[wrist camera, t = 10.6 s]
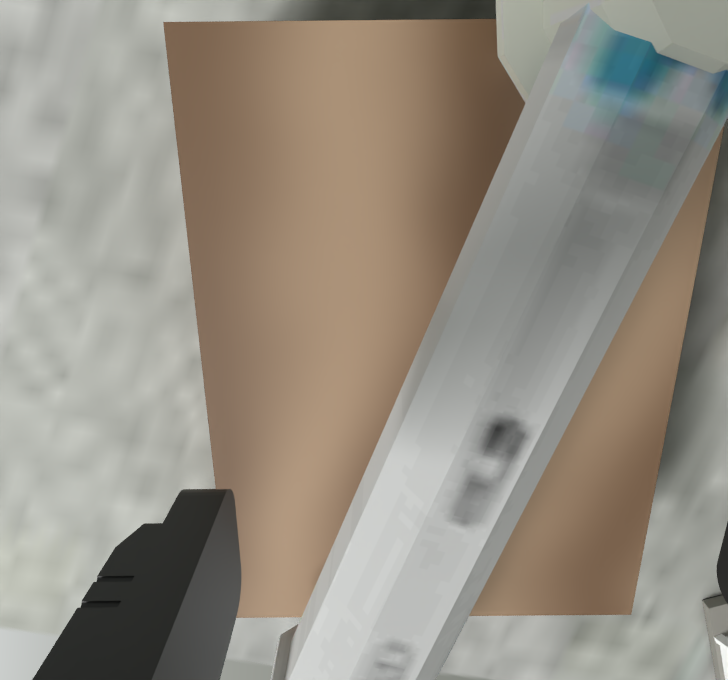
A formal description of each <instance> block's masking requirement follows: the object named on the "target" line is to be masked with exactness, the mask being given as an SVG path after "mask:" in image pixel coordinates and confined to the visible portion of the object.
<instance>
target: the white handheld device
mask: <svg viewBox="0 0 728 680" xmlns="http://www.w3.org/2000/svg"><path fill="white" fill-rule="evenodd" d="M496 24H497V54H498V58H499V60H500V61H501V63H502V65H503V66H504V68H505V70H506V71H507V73H508V75H509V76H510V78H511V80H512V81H513V83H514V85H515V86H516V88H517V90H518V91H519V93H520V95H521V97H522V98H523V100H524V102H525V103H526V104H525V106H524V108H523V110H522V113H521V115H520V117H519V120H518V122H517V124H516V127H515V129H514V131H513V133H512V136H511V138H510V140H509V143H508V145H507V147H506V149H505V152H504V154H503V156H502V159H501V161H500V163H499V166H498V168H497V170H496V172H495V175H494V177H493V179H492V182H491V184H490V186H489V188H488V191H487V193H486V195H485V198H484V200H483V202H482V205H481V207H480V209H479V211H478V214H477V216H476V218H475V221H474V223H473V225H472V227H471V230H470V232H469V234H468V237H467V239H466V241H465V244H464V246H463V248H462V250H461V253H460V255H459V257H458V260H457V262H456V264H455V266H454V269H453V271H452V273H451V276H450V278H449V280H448V283H447V285H446V287H445V289H444V292H443V294H442V296H441V299H440V301H439V303H438V305H437V308H436V310H435V312H434V315H433V317H432V319H431V322H430V324H429V326H428V328H427V331H426V333H425V335H424V338H423V340H422V342H421V344H420V347H419V349H418V351H417V354H416V356H415V358H414V360H413V363H412V365H411V367H410V370H409V372H408V374H407V377H406V379H405V381H404V383H403V386H402V388H401V390H400V393H399V395H398V397H397V399H396V402H395V404H394V406H393V409H392V411H391V413H390V416H389V418H388V420H387V422H386V425H385V427H384V429H383V432H382V434H381V436H380V438H379V441H378V443H377V445H376V448H375V450H374V452H373V455H372V457H371V459H370V461H369V464H368V466H367V468H366V471H365V473H364V475H363V477H362V480H361V482H360V484H359V487H358V489H357V491H356V494H355V496H354V498H353V500H352V503H351V505H350V507H349V510H348V512H347V514H346V516H345V519H344V521H343V523H342V526H341V528H340V530H339V533H338V535H337V537H336V539H335V542H334V544H333V546H332V549H331V551H330V553H329V555H328V558H327V560H326V562H325V565H324V567H323V569H322V572H321V574H320V576H319V578H318V581H317V583H316V585H315V588H314V590H313V592H312V594H311V597H310V599H309V601H308V604H307V606H306V608H305V611H304V613H303V615H302V617H301V620H300V622H299V624H298V625H296V626H295V627H293V628H291V629H290V630H288V631H286V632H285V633H283V634H281V635H280V638H279V641H278V645H277V650H276V655H275V660H274V665H273V671H272V676H271V680H436V678H437V676H438V674H439V672H440V671H441V669H442V667H443V665H444V663H445V661H446V659H447V657H448V655H449V653H450V651H451V649H452V647H453V645H454V644H455V642H456V640H457V638H458V636H459V634H460V632H461V630H462V628H463V626H464V624H465V622H466V620H467V619H468V617H469V615H470V613H471V611H472V609H473V607H474V605H475V603H476V601H477V599H478V597H479V595H480V594H481V592H482V590H483V588H484V586H485V584H486V582H487V580H488V578H489V576H490V574H491V572H492V570H493V568H494V567H495V565H496V563H497V561H498V559H499V557H500V555H501V553H502V551H503V549H504V547H505V545H506V543H507V542H508V540H509V538H510V536H511V534H512V532H513V530H514V528H515V526H516V524H517V522H518V520H519V518H520V517H521V515H522V513H523V511H524V509H525V507H526V505H527V503H528V501H529V499H530V497H531V495H532V493H533V491H534V490H535V488H536V486H537V484H538V482H539V480H540V478H541V476H542V474H543V472H544V470H545V468H546V466H547V465H548V463H549V461H550V459H551V457H552V455H553V453H554V451H555V449H556V447H557V445H558V443H559V441H560V440H561V438H562V436H563V434H564V432H565V430H566V428H567V426H568V424H569V422H570V420H571V418H572V416H573V414H574V413H575V411H576V409H577V407H578V405H579V403H580V401H581V399H582V397H583V395H584V393H585V391H586V389H587V388H588V386H589V384H590V382H591V380H592V378H593V376H594V374H595V372H596V370H597V368H598V366H599V364H600V362H601V361H602V359H603V357H604V355H605V353H606V351H607V349H608V347H609V345H610V343H611V341H612V339H613V337H614V336H615V334H616V332H617V330H618V328H619V326H620V324H621V322H622V320H623V318H624V316H625V314H626V312H627V311H628V309H629V307H630V305H631V303H632V301H633V299H634V297H635V295H636V293H637V291H638V289H639V287H640V285H641V284H642V282H643V280H644V278H645V276H646V274H647V272H648V270H649V268H650V266H651V264H652V262H653V260H654V259H655V257H656V255H657V253H658V251H659V249H660V247H661V245H662V243H663V241H664V239H665V237H666V235H667V234H668V232H669V230H670V228H671V226H672V224H673V222H674V220H675V218H676V216H677V214H678V212H679V210H680V208H681V207H682V205H683V203H684V201H685V199H686V197H687V195H688V193H689V191H690V189H691V187H692V185H693V183H694V182H695V180H696V178H697V176H698V174H699V172H700V170H701V168H702V166H703V164H704V162H705V160H706V158H707V157H708V155H709V153H710V151H711V149H712V147H713V145H714V143H715V141H716V139H717V137H718V135H719V133H720V131H721V130H722V128H723V126H724V124H725V122H726V120H727V118H728V0H496Z"/></svg>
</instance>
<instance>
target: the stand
mask: <svg viewBox="0 0 728 680" xmlns="http://www.w3.org/2000/svg"><path fill="white" fill-rule="evenodd" d="M163 23H164V32H165V41H166V50H167V59H168V68H169V77H170V85H171V94H172V103H173V112H174V121H175V130H176V139H177V148H178V157H179V165H180V174H181V183H182V192H183V201H184V210H185V219H186V228H187V236H188V245H189V254H190V263H191V272H192V281H193V290H194V299H195V308H196V316H197V325H198V334H199V343H200V352H201V361H202V370H203V379H204V388H205V396H206V405H207V414H208V423H209V432H210V441H211V450H212V459H213V468H214V476H215V485H216V489H231V490H232V491H233V494H234V498H235V507H236V518H237V528H238V539H239V550H240V560H241V594H240V601H239V607H238V612H237V616H236V618H254V617H302V615H303V613H304V611H305V608H306V606H307V604H308V601H309V599H310V597H311V594H312V592H313V590H314V588H315V585H316V583H317V581H318V578H319V576H320V574H321V572H322V569H323V567H324V565H325V562H326V560H327V558H328V555H329V553H330V551H331V549H332V546H333V544H334V542H335V539H336V537H337V535H338V533H339V530H340V528H341V526H342V523H343V521H344V519H345V516H346V514H347V512H348V510H349V507H350V505H351V503H352V500H353V498H354V496H355V494H356V491H357V489H358V487H359V484H360V482H361V480H362V477H363V475H364V473H365V471H366V468H367V466H368V464H369V461H370V459H371V457H372V455H373V452H374V450H375V448H376V445H377V443H378V441H379V438H380V436H381V434H382V432H383V429H384V427H385V425H386V422H387V420H388V418H389V416H390V413H391V411H392V409H393V406H394V404H395V402H396V399H397V397H398V395H399V393H400V390H401V388H402V386H403V383H404V381H405V379H406V377H407V374H408V372H409V370H410V367H411V365H412V363H413V360H414V358H415V356H416V354H417V351H418V349H419V347H420V344H421V342H422V340H423V338H424V335H425V333H426V331H427V328H428V326H429V324H430V322H431V319H432V317H433V315H434V312H435V310H436V308H437V305H438V303H439V301H440V299H441V296H442V294H443V292H444V289H445V287H446V285H447V283H448V280H449V278H450V276H451V273H452V271H453V269H454V266H455V264H456V262H457V260H458V257H459V255H460V253H461V250H462V248H463V246H464V244H465V241H466V239H467V237H468V234H469V232H470V230H471V227H472V225H473V223H474V221H475V218H476V216H477V214H478V211H479V209H480V207H481V205H482V202H483V200H484V198H485V195H486V193H487V191H488V188H489V186H490V184H491V182H492V179H493V177H494V175H495V172H496V170H497V168H498V166H499V163H500V161H501V159H502V156H503V154H504V152H505V149H506V147H507V145H508V143H509V140H510V138H511V136H512V133H513V131H514V129H515V127H516V124H517V122H518V120H519V117H520V115H521V113H522V110H523V108H524V106H525V104H526V103H525V102H524V100H523V98H522V97H521V95H520V93H519V91H518V90H517V88H516V86H515V85H514V83H513V81H512V80H511V78H510V76H509V75H508V73H507V71H506V70H505V68H504V66H503V65H502V63H501V61H500V60H499V58H498V54H497V24H496V19H436V20H335V21H234V22H163ZM723 129H724V126H723V128H722V130H721V131H720V133H719V135H718V137H717V139H716V141H715V143H714V145H713V147H712V149H711V151H710V153H709V155H708V157H707V158H706V160H705V162H704V164H703V166H702V168H701V170H700V172H699V174H698V176H697V178H696V180H695V182H694V183H693V185H692V187H691V189H690V191H689V193H688V195H687V197H686V199H685V201H684V203H683V205H682V207H681V208H680V210H679V212H678V214H677V216H676V218H675V220H674V222H673V224H672V226H671V228H670V230H669V232H668V234H667V235H666V237H665V239H664V241H663V243H662V245H661V247H660V249H659V251H658V253H657V255H656V257H655V259H654V260H653V262H652V264H651V266H650V268H649V270H648V272H647V274H646V276H645V278H644V280H643V282H642V284H641V285H640V287H639V289H638V291H637V293H636V295H635V297H634V299H633V301H632V303H631V305H630V307H629V309H628V311H627V312H626V314H625V316H624V318H623V320H622V322H621V324H620V326H619V328H618V330H617V332H616V334H615V336H614V337H613V339H612V341H611V343H610V345H609V347H608V349H607V351H606V353H605V355H604V357H603V359H602V361H601V362H600V364H599V366H598V368H597V370H596V372H595V374H594V376H593V378H592V380H591V382H590V384H589V386H588V388H587V389H586V391H585V393H584V395H583V397H582V399H581V401H580V403H579V405H578V407H577V409H576V411H575V413H574V414H573V416H572V418H571V420H570V422H569V424H568V426H567V428H566V430H565V432H564V434H563V436H562V438H561V440H560V441H559V443H558V445H557V447H556V449H555V451H554V453H553V455H552V457H551V459H550V461H549V463H548V465H547V466H546V468H545V470H544V472H543V474H542V476H541V478H540V480H539V482H538V484H537V486H536V488H535V490H534V491H533V493H532V495H531V497H530V499H529V501H528V503H527V505H526V507H525V509H524V511H523V513H522V515H521V517H520V518H519V520H518V522H517V524H516V526H515V528H514V530H513V532H512V534H511V536H510V538H509V540H508V542H507V543H506V545H505V547H504V549H503V551H502V553H501V555H500V557H499V559H498V561H497V563H496V565H495V567H494V568H493V570H492V572H491V574H490V576H489V578H488V580H487V582H486V584H485V586H484V588H483V590H482V592H481V594H480V595H479V597H478V599H477V601H476V603H475V605H474V607H473V609H472V611H471V613H470V615H469V616H512V615H631V612H632V607H633V602H634V597H635V591H636V586H637V581H638V576H639V570H640V565H641V560H642V555H643V549H644V544H645V539H646V534H647V528H648V523H649V518H650V513H651V507H652V502H653V497H654V492H655V486H656V481H657V476H658V471H659V465H660V460H661V455H662V450H663V444H664V439H665V434H666V429H667V423H668V418H669V413H670V408H671V402H672V397H673V392H674V387H675V381H676V376H677V371H678V366H679V360H680V355H681V350H682V345H683V339H684V334H685V329H686V324H687V318H688V313H689V308H690V303H691V297H692V292H693V287H694V282H695V276H696V271H697V266H698V261H699V255H700V250H701V245H702V240H703V234H704V229H705V224H706V219H707V213H708V208H709V203H710V198H711V192H712V187H713V182H714V177H715V171H716V166H717V161H718V156H719V150H720V145H721V140H722V135H723Z"/></svg>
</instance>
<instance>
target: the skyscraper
mask: <svg viewBox="0 0 728 680" xmlns="http://www.w3.org/2000/svg"><path fill="white" fill-rule="evenodd" d="M702 601H703V607H704V612H705V618H706V624H707V629H708V635H709V641H710V647H711V652H712V658H713V664H714V669H715V675H716V680H728V604H727V602H726V601H725V599H724V597H723V595H721V596H717V597H713V598H709V599H705V600H702Z"/></svg>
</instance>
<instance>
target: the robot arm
mask: <svg viewBox="0 0 728 680" xmlns="http://www.w3.org/2000/svg"><path fill="white" fill-rule="evenodd" d="M97 577H98V578H97V582H93V584H92V586H91V587H90V589H89V590H88V592H87V594H86V595H85V597H84V598H83V600H82V605H81V608H77V610H76V611H75V613H74V614H73V616H72V618H71V619H70V621H69V622H68V624H67V625H66V627H65V629H64V630H63V632H62V633H61V635H60V637H59V638H58V640H57V641H56V643H55V645H54V646H53V648H52V649H51V651H50V653H49V654H48V656H47V658H46V659H45V661H44V662H43V664H42V665H41V667H40V669H39V670H38V672H37V674H36V675H35V677H34V678H33V680H220V676H221V673H222V669H223V665H224V661H225V658H226V654H227V650H228V646H229V643H230V639H231V635H232V631H233V627H234V624H235V620H236V616H237V612H238V607H239V601H240V594H241V560H240V550H239V539H238V528H237V518H236V507H235V498H234V494H233V491H232V490H231V489H185V490H182V491H181V492H180V493H179V495H178V496H177V498H176V500H175V502H174V504H173V505H172V507H171V509H170V511H169V513H168V515H167V517H166V518H165V520H164V522H163V523H158V524H143V525H142V526H141V527H140V528H138V529H137V530H136V531H135V532H134V533H132V534H131V535H130V536H129V537H127V538H126V539H125V540H124V541H123V542H121V543H120V544H119V545H118V546H117V547H115V549H114V551H113V552H112V554H111V555H110V557H109V559H108V560H107V562H106V563H105V565H104V567H103V568H102V570H101V571H100V573H99V575H98V576H97ZM717 578H718V583H719V587H720V590H721V592H722V595H723V597H724V599H725V601H726V602H727V604H728V523H727V527H726V531H725V535H724V539H723V543H722V547H721V551H720V555H719V559H718V563H717Z"/></svg>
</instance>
